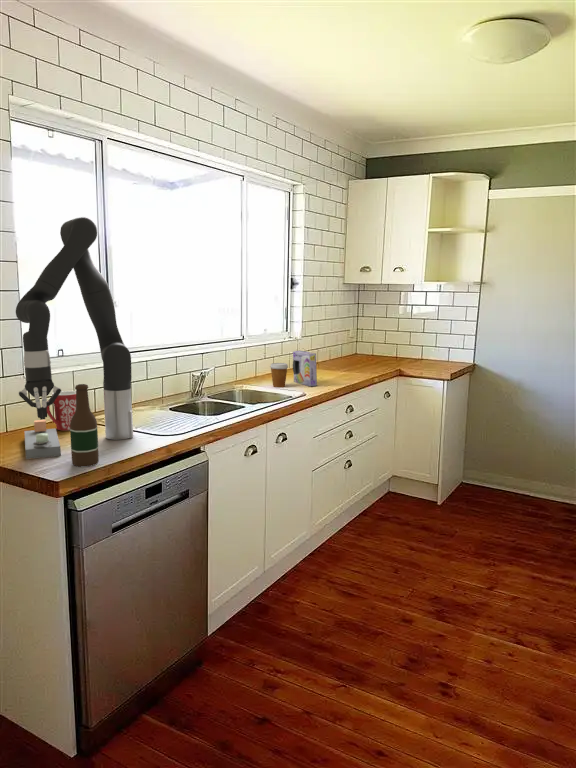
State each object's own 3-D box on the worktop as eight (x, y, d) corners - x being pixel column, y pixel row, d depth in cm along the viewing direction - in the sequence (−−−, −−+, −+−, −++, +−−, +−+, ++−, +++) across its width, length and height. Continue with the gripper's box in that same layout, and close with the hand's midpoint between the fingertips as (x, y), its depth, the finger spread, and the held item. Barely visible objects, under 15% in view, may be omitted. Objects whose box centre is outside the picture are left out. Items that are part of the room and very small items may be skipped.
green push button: (48, 438, 186) (48, 432, 186) (48, 441, 183) (48, 435, 183) (36, 440, 185) (35, 433, 185) (36, 442, 182) (35, 436, 181)
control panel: (56, 436, 208) (55, 428, 207) (61, 456, 185) (60, 446, 184) (25, 439, 203) (24, 430, 203) (26, 459, 180) (25, 450, 180)
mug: (70, 424, 226) (68, 389, 223) (85, 427, 221) (83, 392, 218) (40, 430, 215) (37, 394, 213) (55, 434, 210) (52, 397, 208)
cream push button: (48, 440, 191) (47, 434, 190) (48, 443, 187) (48, 437, 187) (35, 441, 189) (35, 435, 189) (36, 444, 186) (35, 438, 186)
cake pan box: (291, 381, 327) (292, 350, 324) (299, 381, 329) (300, 349, 326) (309, 387, 310) (309, 353, 307) (317, 386, 313) (317, 353, 310)
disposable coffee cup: (281, 388, 305) (281, 365, 303) (266, 386, 310) (266, 364, 308) (291, 386, 313) (291, 363, 311) (276, 384, 318) (276, 362, 316)
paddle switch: (46, 429, 204) (45, 419, 203) (46, 430, 201) (45, 421, 201) (34, 430, 202) (34, 420, 202) (34, 431, 200) (34, 422, 199)
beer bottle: (82, 458, 182) (78, 382, 178) (104, 460, 180) (100, 383, 176) (66, 465, 175) (61, 386, 171) (88, 468, 173) (84, 387, 169)
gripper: (59, 361, 190) (63, 414, 193) (14, 365, 184) (19, 419, 187) (61, 364, 183) (65, 419, 186) (14, 368, 177) (20, 424, 181)
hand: (42, 418), depth 187 cm, fingers closed
